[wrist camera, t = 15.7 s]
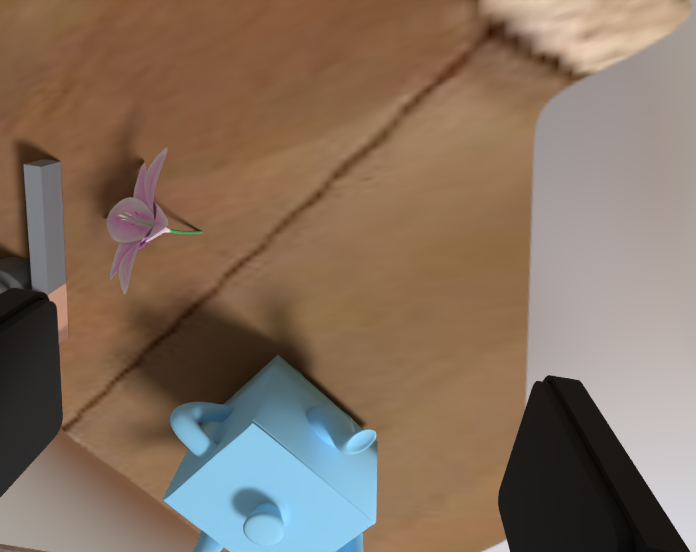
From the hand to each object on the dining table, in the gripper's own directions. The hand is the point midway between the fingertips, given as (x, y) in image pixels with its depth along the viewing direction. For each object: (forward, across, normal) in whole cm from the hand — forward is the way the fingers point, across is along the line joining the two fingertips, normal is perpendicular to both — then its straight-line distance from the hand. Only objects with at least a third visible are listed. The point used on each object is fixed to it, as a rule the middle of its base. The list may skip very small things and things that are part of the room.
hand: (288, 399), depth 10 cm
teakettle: (+38, +2, +30) cm, 49 cm away
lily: (+39, +17, +8) cm, 43 cm away
